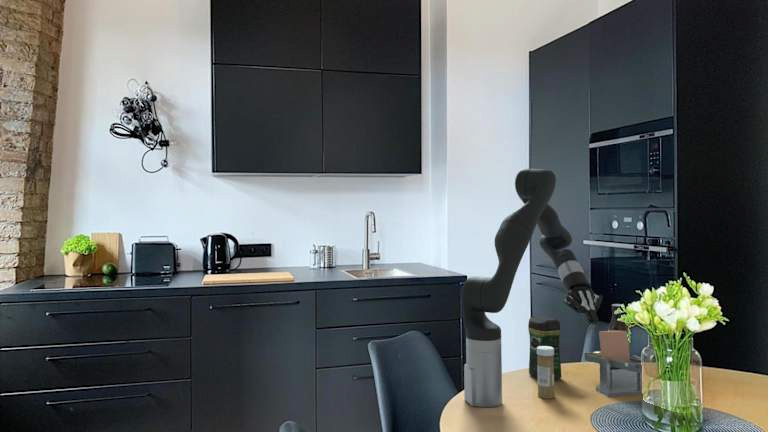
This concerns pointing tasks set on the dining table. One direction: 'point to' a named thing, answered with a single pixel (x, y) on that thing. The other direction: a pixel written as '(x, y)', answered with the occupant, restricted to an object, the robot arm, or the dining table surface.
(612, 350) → the brown rectangular block
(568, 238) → the robot arm
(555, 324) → the coffee jar
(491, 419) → the dining table surface
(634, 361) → the beam
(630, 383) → the fulcrum
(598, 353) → the brass weight
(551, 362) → the sprinkles bottle
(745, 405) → the dining table surface
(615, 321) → the sauce bottle
